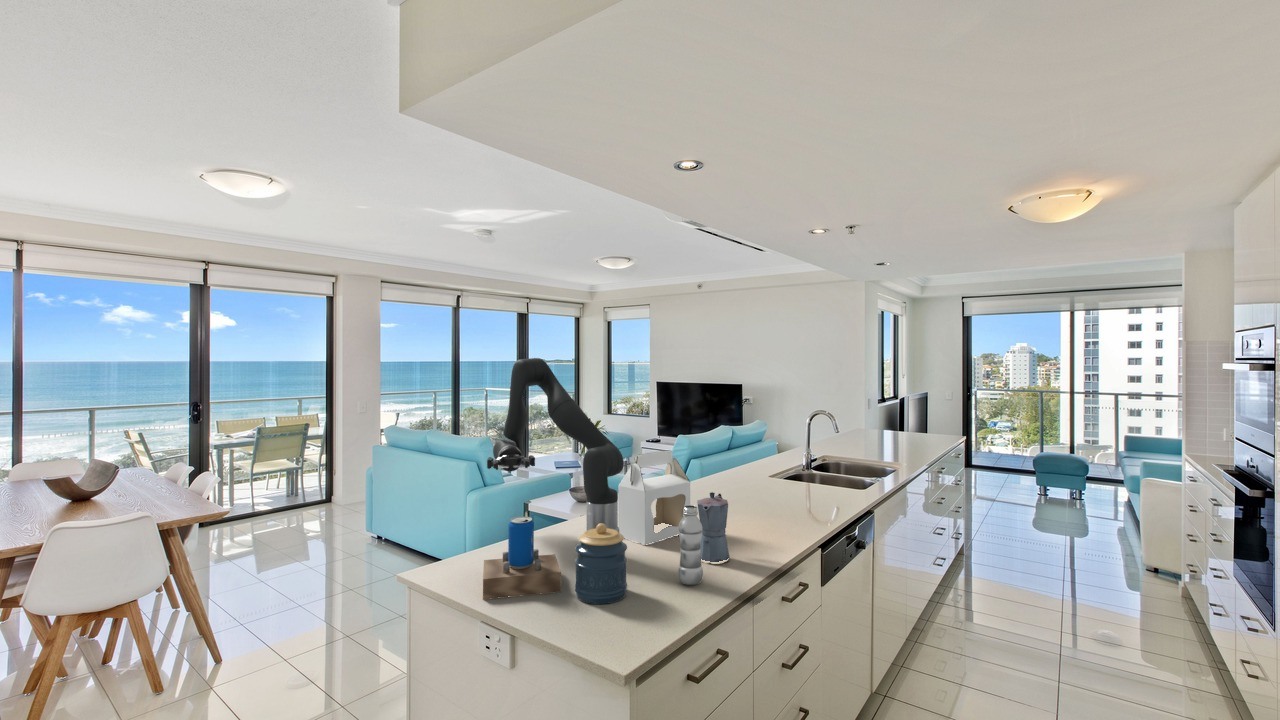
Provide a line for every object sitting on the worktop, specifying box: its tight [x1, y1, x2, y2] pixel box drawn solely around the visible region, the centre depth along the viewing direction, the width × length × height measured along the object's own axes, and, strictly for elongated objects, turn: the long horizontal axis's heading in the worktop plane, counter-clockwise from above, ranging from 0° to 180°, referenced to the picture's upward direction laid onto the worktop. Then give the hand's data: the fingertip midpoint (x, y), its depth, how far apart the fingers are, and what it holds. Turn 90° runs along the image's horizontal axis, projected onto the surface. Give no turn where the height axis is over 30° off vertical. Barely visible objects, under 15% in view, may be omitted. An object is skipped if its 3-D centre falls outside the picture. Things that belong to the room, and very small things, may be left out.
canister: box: [574, 523, 628, 605], centre depth 140 cm, size 13×13×18 cm
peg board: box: [482, 549, 562, 600], centre depth 146 cm, size 19×14×8 cm
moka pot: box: [696, 491, 730, 562], centre depth 166 cm, size 10×15×20 cm, turn 158°
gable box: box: [617, 449, 691, 546], centre depth 190 cm, size 22×13×28 cm, turn 133°
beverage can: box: [507, 516, 535, 569], centre depth 146 cm, size 6×6×12 cm
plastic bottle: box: [677, 504, 704, 586], centre depth 147 cm, size 6×7×20 cm
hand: (511, 465), depth 165 cm, fingers open, 8 cm apart
